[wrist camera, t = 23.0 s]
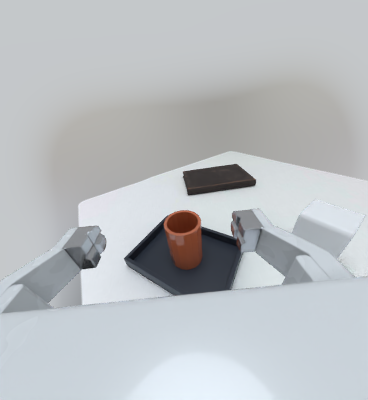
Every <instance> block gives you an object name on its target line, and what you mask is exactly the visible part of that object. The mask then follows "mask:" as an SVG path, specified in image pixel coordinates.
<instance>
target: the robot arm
mask: <svg viewBox="0 0 368 400" xmlns="http://www.w3.org/2000/svg"><path fill="white" fill-rule="evenodd" d="M232 218H233V221H232V222H231V231H232V234H233V237H234V238H235V239H237V242H236V244H237V246H238V248H239V250H240V253H242V252H255V251H256V253H257V254H258V255H259V256H261V257H262V258H263V259H264V260H266V261H267V262H268V263H269V264H270V265H272V266H273V267H274V268H275V269H277V270H278V271H279V272H280V273H281V274H283V275H284V276H285V279H284V281H283V283H282V285H275V286H265V287H256V288H246V289H236V290H226V291H216V292H207V293H197V294H187V295H177V296H167V297H158V298H148V299H138V300H129V301H119V302H109V303H99V304H90V305H80V306H70V307H61V308H54V307H52V306H51V305H50V304H48V303H49V302H50V301H51V299H53V298H54V297H55V296H56V295H57V294H58V293H59V292H60V291H61V290H62V289H63V288H64V287H65V286H66V285H67V284H68V283H69V282H70V281H71V280H72V279H73V278H74V277H75V276H76V275H77V274H78V273H79V272H80V271H81V269H88V268H96V267H97V264H98V262H99V260H100V258H101V256H100V254H101V253H102V252H103V251H104V250H105V247H106V238H105V236H104V235H102V234H101V233H100V232H101V229H100V228H99V226H87V227H77V228H71V229H69V230H68V231H67V232H66V234H65V235H64V236H63V237H62V238H61V239H60V241H59V242H58V243H57V244H56V245H55V246H54V248H53V249H52V250H48V251H47V252H46V253H44V254H42V255H41V256H39V257H37V258H36V259H34V260H32V261H31V262H29V263H28V264H26V265H24V266H23V267H21V268H20V269H18V270H16V271H15V272H13V273H12V274H10V275H8V276H7V277H6V278H4V279H2V280H1V281H0V400H368V276H363V277H355V276H354V275H353V274H352V273H351V272H350V271H348V270H347V269H346V268H345V267H344V266H343V265H342V264H341V263H340V262H339V261H338V260H337V259H336V258H335V257H334V256H333V255H332V254H331V253H330V252H328V251H326V250H324V249H322V248H320V247H318V246H316V245H314V244H312V243H310V242H308V241H306V240H304V239H302V238H300V237H298V236H296V235H294V234H292V233H289V232H287V231H285V230H283V229H281V228H279V227H274V225H273V224H272V223H271V222H270V221H269V219H268V218H267V217H266V216H265V214H264V213H263V212H262V211H261V210H260V209H259V208H257V209H250V210H242V211H233V213H232Z"/></svg>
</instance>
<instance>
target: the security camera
mask: <svg viewBox="0 0 368 400" xmlns="http://www.w3.org/2000/svg"><path fill="white" fill-rule="evenodd" d="M365 216H366V215H363V214H360V213H357V212H354V211H351V210H348V209H345V208H341V207H338V206H335V205H332V204H329V203H326V202H323V201H320V200H317V199H315V200H313V201H312V202H311V203H310V204H309V205H308V206H307V207H306V208H305V209H304V210H303V211H302V212H301V213H300V215H299V217H298V219H297V221H296V224H295V226H294V229H293V231H292V234H294V235H296V236H298V237H300V238H302V239H304V240H306V241H308V242H310V243H312V244H314V245H316V246H318V247H320V248H322V249H324V250H326V251H328V252H330V253H331V254H332V255H333V256H334V257H335V258H336V259H337V258H338V257H339V255H340V254H341V253H342V251H343V250H344V249H345V247H346V246H347V245H348V243H349V242H350V241H351V239H352V238H353V237H354V235H355V233H356V232H357V230H358V228H359V227H360V225H361V223H362V222H363V219H364V218H365Z"/></svg>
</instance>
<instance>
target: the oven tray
mask: <svg viewBox="0 0 368 400" xmlns="http://www.w3.org/2000/svg"><path fill="white" fill-rule="evenodd" d="M167 217H168V215H167V216H166V217H165V218H164V219H163V220H162V221H161V222H160V223H159V224H158V225H157V226H156V227H155V228H154V229H153V230H152V231H151V232H150V233H149V234H148V235H147V236H146V237H145V238H144V239H143V240H142V241H141V242H140V243H139V244H138V245H137V246H136V247H135V248H134V249H133V250H132V251H131V252H130V253H129V254H128V255H127V256H126V257H125V258H124V260H125V262H126V264H127V266H129V267H130V268H132V269H133V270H135V271H137V272H138V273H140V274H141V275H143V276H145V277H146V278H148V279H149V280H151V281H153V282H154V283H156V284H157V285H159V286H160V287H162V288H164V289H165V290H167V291H168V292H170V293H172V294H173V295H175V296H177V295H187V294H197V293H207V292H216V291H226V290H231V288H232V285H233V282H234V279H235V275H236V272H237V269H238V266H239V263H240V260H241V257H242V253H243V252H242V253H240V250H239V248H238V246H237V244H236V242H237V239H235V238H234V237H232V236H229V235H226V234H223V233H220V232H217V231H213V230H210V229H207V228H204V227H201V230H202V250H203V257H202V260H201V262H200V264H199V265H198V266H196V267H195V268H193V269H189V270H184V269H180V268H178V267H177V266H175V265H174V263H173V261H172V258H171V254H170V249H169V245H168V241H167V237H166V232H165V228H164V222H165V219H166V218H167Z"/></svg>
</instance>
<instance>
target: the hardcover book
mask: <svg viewBox="0 0 368 400" xmlns="http://www.w3.org/2000/svg"><path fill="white" fill-rule="evenodd" d="M183 174H184V176H183V177H184V181H185V184H186V188H187V192H188V195H192V194H199V193H205V192H212V191H219V190H226V189H233V188H240V187H246V186H253V185H255V184H256V179H254V178H253V177H252V176H251V175H250V174H248V173H247V172H246V171H245V170H244V169H242V168H241V167H240V166H239V165H237V164H233V165H225V166H218V167H211V168H204V169H197V170H190V171H183Z"/></svg>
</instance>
